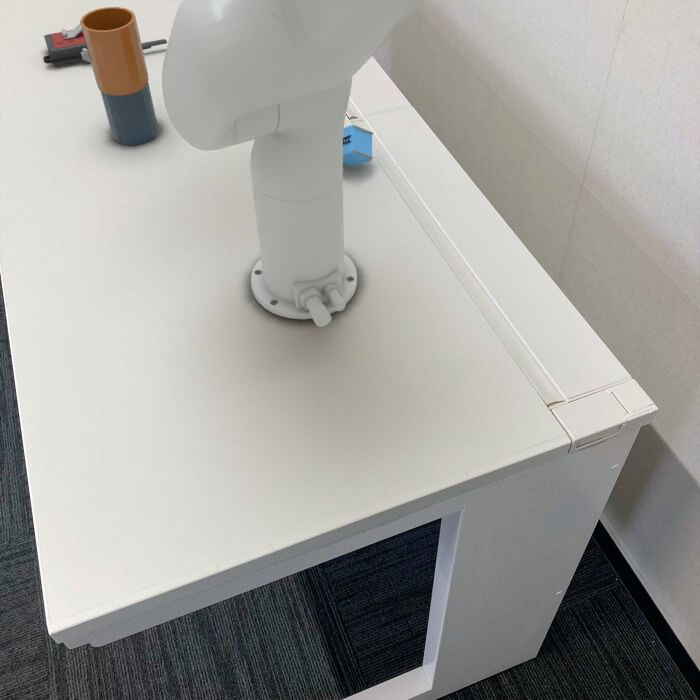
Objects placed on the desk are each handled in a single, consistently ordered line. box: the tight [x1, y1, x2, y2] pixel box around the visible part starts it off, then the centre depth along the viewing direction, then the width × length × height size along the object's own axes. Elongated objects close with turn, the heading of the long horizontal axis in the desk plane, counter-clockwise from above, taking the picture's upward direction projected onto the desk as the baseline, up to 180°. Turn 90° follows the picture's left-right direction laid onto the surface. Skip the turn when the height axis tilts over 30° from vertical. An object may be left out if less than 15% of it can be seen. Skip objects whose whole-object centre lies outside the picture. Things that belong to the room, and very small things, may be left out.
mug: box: [99, 82, 159, 146], centre depth 111 cm, size 10×7×8 cm
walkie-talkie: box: [42, 23, 168, 67], centre depth 128 cm, size 9×4×20 cm
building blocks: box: [343, 124, 374, 167], centre depth 107 cm, size 8×8×12 cm
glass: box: [79, 6, 149, 96], centre depth 104 cm, size 7×7×9 cm
